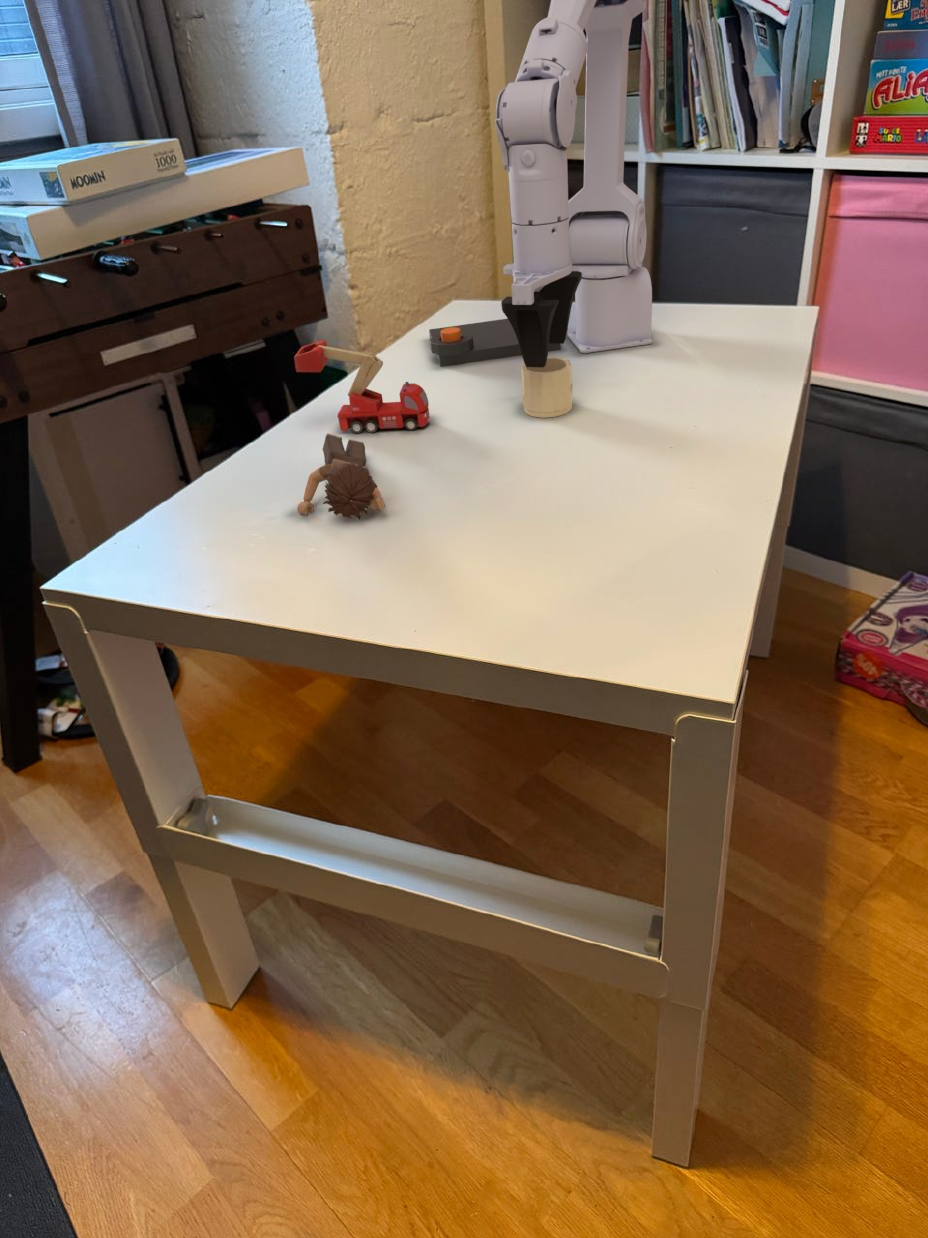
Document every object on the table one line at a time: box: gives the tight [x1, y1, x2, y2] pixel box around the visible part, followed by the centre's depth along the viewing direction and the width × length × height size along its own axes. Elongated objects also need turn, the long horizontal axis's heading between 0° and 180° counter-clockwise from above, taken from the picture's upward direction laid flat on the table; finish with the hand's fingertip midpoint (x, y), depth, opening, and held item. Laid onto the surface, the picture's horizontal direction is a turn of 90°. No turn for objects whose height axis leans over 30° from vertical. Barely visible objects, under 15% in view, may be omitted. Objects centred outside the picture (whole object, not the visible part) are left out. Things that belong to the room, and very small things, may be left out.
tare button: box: [441, 326, 461, 342], centre depth 114 cm, size 3×3×1 cm
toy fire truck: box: [293, 340, 431, 434], centre depth 97 cm, size 3×14×10 cm, turn 84°
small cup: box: [520, 356, 574, 419], centre depth 98 cm, size 5×6×5 cm
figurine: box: [296, 432, 386, 520], centre depth 85 cm, size 8×5×15 cm
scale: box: [428, 318, 562, 368], centre depth 118 cm, size 17×13×3 cm
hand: (545, 354), depth 96 cm, fingers open, 7 cm apart
